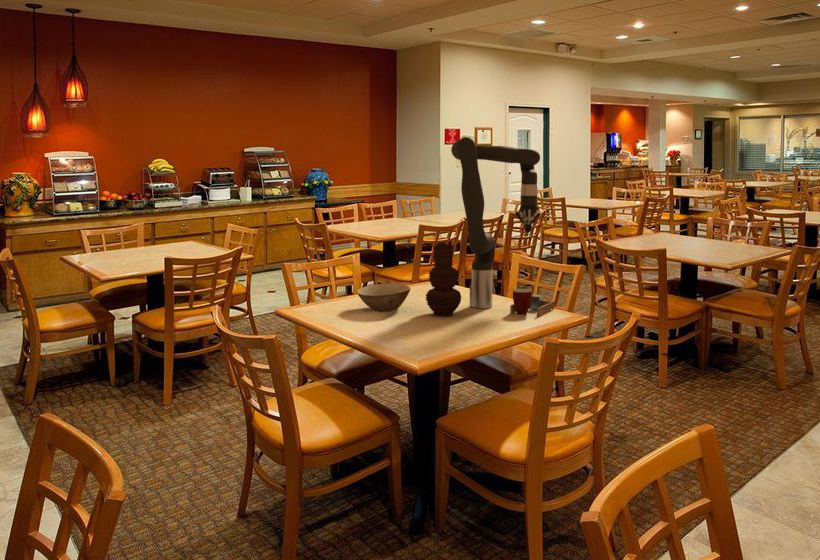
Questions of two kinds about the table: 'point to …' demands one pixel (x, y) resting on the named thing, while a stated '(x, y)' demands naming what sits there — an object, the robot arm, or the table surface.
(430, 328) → the table surface
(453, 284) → the vase
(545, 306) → the caddy
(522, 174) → the robot arm
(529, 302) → the mug
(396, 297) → the bowl
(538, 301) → the tea tin
